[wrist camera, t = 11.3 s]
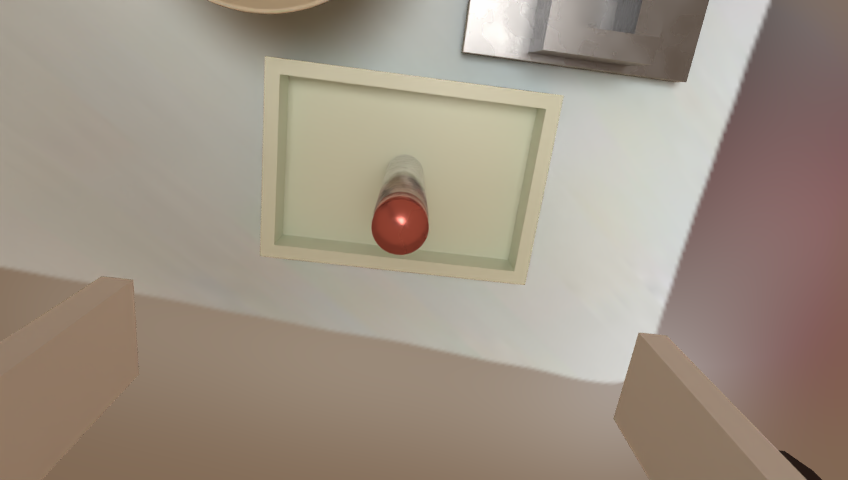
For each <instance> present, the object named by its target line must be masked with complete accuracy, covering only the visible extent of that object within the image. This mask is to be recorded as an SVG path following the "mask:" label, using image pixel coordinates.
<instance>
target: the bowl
mask: <svg viewBox="0 0 848 480" xmlns="http://www.w3.org/2000/svg"><path fill="white" fill-rule="evenodd" d="M208 1H210V2H212V3H215V4H218V5H220V6H223V7H226V8H230V9H234V10H238V11H243V12H249V13H260V14H281V13H289V12H296V11H301V10H305V9H308V8H312V7H315V6H317V5H320V4H323V3H325V2H327V1H330V0H208Z"/></svg>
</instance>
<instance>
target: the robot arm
mask: <svg viewBox="0 0 848 480" xmlns="http://www.w3.org/2000/svg"><path fill="white" fill-rule="evenodd" d="M138 374H139V366H138V352H137V335H136V318H135V303H134V287H133V280H131V279H121V278H112V277H100V278H98V279H97V280H95V281H94V282H92V283H91V284H89V285H88V286H86V287H84V288H83V289H81V290H80V291H78V292H77V293H75V294H74V295H72V296H71V297H69V298H67V299H66V300H65V301H63V302H61V303H60V304H58V305H57V306H55V307H53V308H52V309H50V310H49V311H47V312H46V313H44V314H43V315H41V316H40V317H38V318H36V319H35V320H33V321H32V322H30V323H29V324H27V325H26V326H24V327H22V328H21V329H19V330H18V331H16V332H15V333H13V334H12V335H10V336H9V337H7V338H5V339H4V340H2V341H1V342H0V480H42V479H43V478H44V477H45V476H46V475H47V474H48V472H50V470H51V469H52V468H53V467H54V466H55V465H56V464H57V463H58V462H59V460H61V458H62V457H63V456H64V455H65V454H66V453H67V452H68V451H69V450H70V449H71V448H72V446H73V445H74V444H75V443H76V442H77V441H78V440H79V439H80V438H81V437H82V436H83V435H84V433H85V432H86V431H87V430H88V429H89V428H90V427H91V426H92V425H93V424H94V423H95V421H96V420H97V419H98V418H99V417H100V416H101V415H102V414H103V413H104V412H105V411H106V409H107V408H108V407H109V406H110V405H111V404H112V403H113V402H114V400H116V399H117V397H118V396H119V395H120V394H121V393H122V392H123V391H124V390H125V389H126V388H127V386H129V384H130V383H131V382H132V381H133V380H134V379H135V378H136V377H137V376H138ZM614 420H615V422H616V423H617V425H618V427H619V429H620V430H621V432H622V434H623V436H624V437H625V439H626V440H627V442H628V444H629V446H630V448H631V449H632V451H633V453H634V454H635V456H636V458H637V460H638V461H639V463H640V465H641V466H642V468H643V470H644V472H645V473H646V475H647V477H648V478H649V480H822V479H821V478H820V477H819V476H818V475H817V474H816V473H815V472H814V471H812V470H811V469H810V468H808V467H807V466H805V465H804V464H802V463H801V462H799V461H798V460H797V459H795V458H794V457H792V456H791V455H789V454H788V453H786V452H785V451H778V450H777V449H776V448H775V447H774V446H773V445H772V444H771V442H769V440H768V439H767V438H766V437H765V436H764V435H763V434H762V433H761V432H760V431H759V430H758V429H757V428H756V427H755V426H754V425H753V424H752V423H751V422H750V421H749V420H748V419H747V418H746V417H745V416H744V415H743V414H742V413H741V412H740V411H739V410H738V409H737V408H736V407H735V405H734V404H733V403H731V401H730V400H729V399H728V398H727V397H726V396H725V395H724V394H723V393H722V392H721V391H720V390H719V389H718V388H717V387H716V386H715V385H714V384H713V383H712V382H711V381H710V380H709V379H708V378H707V377H706V376H705V375H704V374H703V373H702V372H701V371H700V370H699V368H697V366H696V365H695V364H694V363H693V362H692V361H691V360H690V359H689V358H688V357H687V356H686V355H685V354H684V353H683V352H682V351H681V350H680V349H679V348H678V347H677V346H676V345H675V344H674V343H673V342H672V341H671V340H670V339H669V338H668V337H667V336H665V335H657V334H647V333H639V334H638V337H637V340H636V344H635V347H634V351H633V354H632V357H631V361H630V364H629V368H628V371H627V374H626V378H625V381H624V385H623V388H622V392H621V395H620V398H619V402H618V405H617V408H616V412H615V415H614Z"/></svg>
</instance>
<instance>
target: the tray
mask: <svg viewBox="0 0 848 480" xmlns="http://www.w3.org/2000/svg"><path fill="white" fill-rule="evenodd" d="M563 97H564V96H562V95H554V94H547V93H539V92H532V91H524V90H517V89H509V88H502V87H494V86H487V85H479V84H471V83H464V82H456V81H449V80H441V79H434V78H426V77H419V76H411V75H403V74H396V73H388V72H381V71H373V70H366V69H358V68H351V67H343V66H336V65H328V64H320V63H313V62H305V61H298V60H290V59H283V58H275V57H268V56H265V72H264V114H263V156H262V198H261V240H260V256H264V257H273V258H283V259H292V260H301V261H310V262H319V263H328V264H337V265H346V266H356V267H365V268H374V269H383V270H392V271H401V272H410V273H420V274H429V275H438V276H447V277H456V278H465V279H474V280H483V281H493V282H502V283H511V284H520V285H525V282H526V277H527V272H528V267H529V262H530V257H531V252H532V247H533V243H534V238H535V233H536V228H537V223H538V218H539V213H540V209H541V204H542V199H543V194H544V189H545V184H546V179H547V174H548V170H549V165H550V160H551V155H552V150H553V145H554V140H555V136H556V131H557V126H558V121H559V116H560V111H561V106H562V101H563ZM399 155H410V156H413V157H414V158H416V159H417V160H418V161H419V162H420V164H421V165H422V168H423V174H424V182H425V191H426V199H427V207H428V216H429V220H428V224H429V231H428V236H427V238H426V240H425V242H424V243H423V245H422V246H421V247H420V248H419V249H417V250H416V251H414V252H412V253H409V254H405V255H395V254H391V253H389V252H386V251H385V250H383V249H382V248H381V247H380V246H379V245H378V244H377V243H376V241H375V240H374V237H373V235H372V229H371V225H372V220H373V214H374V209H375V206H376V203H377V199H378V196H379V193H380V189H381V186H382V183H383V179H384V176H385V173H386V169H387V166H388V164H389V162H390V161H391V160H392V159H393V158H395V157H397V156H399Z"/></svg>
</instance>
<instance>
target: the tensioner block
mask: <svg viewBox="0 0 848 480" xmlns="http://www.w3.org/2000/svg"><path fill="white" fill-rule="evenodd" d="M708 2H709V0H469V2H468V9H467V16H466V23H465V31H464V38H463V45H462V52H461V53H467V54H475V55H482V56H489V57H497V58H504V59H511V60H519V61H526V62H533V63H541V64H548V65H556V66H563V67H570V68H578V69H585V70H592V71H600V72H607V73H614V74H622V75H629V76H636V77H644V78H651V79H659V80H666V81H673V82H686V81H687V78H688V74H689V70H690V67H691V63H692V60H693V56H694V52H695V49H696V45H697V42H698V38H699V34H700V31H701V27H702V24H703V20H704V16H705V13H706V9H707V6H708Z"/></svg>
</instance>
